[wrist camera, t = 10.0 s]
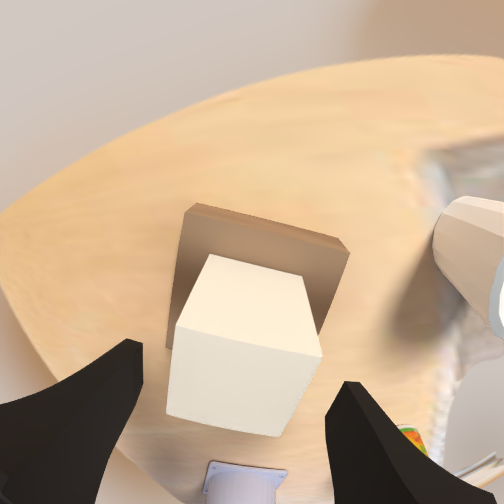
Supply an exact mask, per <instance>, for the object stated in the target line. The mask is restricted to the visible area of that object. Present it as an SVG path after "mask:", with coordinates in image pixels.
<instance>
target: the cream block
mask: <svg viewBox="0 0 504 504" xmlns="http://www.w3.org/2000/svg"><path fill="white" fill-rule="evenodd" d="M321 359H322V352H321V348H320V344H319V340H318V336H317V332H316V328H315V324H314V320H313V316H312V312H311V308H310V304H309V301H308V297H307V293H306V289H305V285H304V282H303V278H302V276H299V275H294V274H290V273H286V272H282V271H278V270H274V269H270V268H265V267H261V266H257V265H253V264H249V263H245V262H241V261H237V260H233V259H229V258H225V257H221V256H217V255H213V254H209V256H208V258H207V260H206V263H205V265H204V267H203V269H202V271H201V273H200V275H199V277H198V279H197V281H196V283H195V285H194V287H193V289H192V291H191V293H190V296H189V298H188V300H187V302H186V304H185V306H184V308H183V310H182V312H181V315H180V317H179V319H178V321H177V323H176V326H175V334H174V342H173V350H172V358H171V367H170V377H169V386H168V397H167V408H166V414H168V415H171V416H175V417H178V418H182V419H186V420H190V421H194V422H198V423H202V424H207V425H211V426H216V427H221V428H225V429H231V430H236V431H242V432H247V433H254V434H260V435H267V436H275V437H279V436H280V435H281V433H282V431H283V430H284V428H285V426H286V425H287V423H288V421H289V419H290V418H291V416H292V414H293V412H294V411H295V409H296V407H297V405H298V403H299V402H300V400H301V398H302V396H303V394H304V392H305V391H306V389H307V387H308V385H309V383H310V381H311V379H312V377H313V375H314V373H315V371H316V369H317V367H318V365H319V363H320V361H321Z"/></svg>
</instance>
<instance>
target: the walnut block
mask: <svg viewBox="0 0 504 504" xmlns="http://www.w3.org/2000/svg"><path fill="white" fill-rule="evenodd" d="M209 254H213V255H217V256H221V257H225V258H229V259H233V260H237V261H241V262H245V263H249V264H253V265H257V266H261V267H265V268H270V269H274V270H278V271H282V272H286V273H290V274H294V275H299V276H302V278H303V282H304V285H305V289H306V293H307V297H308V301H309V304H310V308H311V312H312V316H313V320H314V324H315V328H316V332H317V336H318V335H319V332H320V330H321V328H322V325H323V323H324V320H325V318H326V315H327V313H328V310H329V308H330V305H331V303H332V300H333V298H334V295H335V293H336V290H337V287H338V285H339V282H340V279H341V277H342V274H343V271H344V269H345V266H346V263H347V260H348V257H349V254H350V253H349V251H348V250H347V249H346V247H345V246H344V245H343V244H342V242H341V241H340V240H339V239H338V238H336V237H332V236H328V235H325V234H321V233H317V232H313V231H310V230H306V229H302V228H298V227H294V226H290V225H286V224H283V223H279V222H275V221H271V220H267V219H263V218H259V217H255V216H250V215H246V214H242V213H238V212H234V211H230V210H225V209H221V208H217V207H213V206H208V205H204V204H200V203H196V204H195V205H194V206H192V207H191V208H190V209H188V210H187V211H186V212H185V214H184V220H183V226H182V231H181V237H180V243H179V249H178V256H177V262H176V269H175V276H174V283H173V290H172V297H171V305H170V313H169V322H168V331H167V340H166V348H169V349H172V350H173V342H174V334H175V326H176V323H177V321H178V319H179V317H180V315H181V312H182V310H183V308H184V306H185V304H186V302H187V300H188V298H189V296H190V293H191V291H192V289H193V287H194V285H195V283H196V281H197V279H198V277H199V275H200V273H201V271H202V269H203V267H204V265H205V263H206V260H207V258H208V256H209Z"/></svg>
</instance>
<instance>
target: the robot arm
mask: <svg viewBox="0 0 504 504" xmlns="http://www.w3.org/2000/svg"><path fill="white" fill-rule="evenodd" d="M142 385H143V343H141V342H137V341H134V340H131V339H125V340H123V341H122V342H121V343H119V344H118V345H116V346H115V347H114V348H112V349H111V350H109V351H108V352H106V353H105V354H104V355H102V356H101V357H99V358H98V359H96V360H95V361H93V362H92V363H90V364H89V365H87V366H86V367H84V368H83V369H81V370H80V371H78V372H76V373H74V374H73V375H71V376H69V377H68V378H66V379H64V380H62V381H61V382H59V383H57V384H55V385H53V386H51V387H49V388H47V389H44V390H42V391H40V392H37V393H35V394H32V395H29V396H26V397H24V398H21V399H18V400H15V401H12V402H8V403H4V404H0V504H95V500H96V496H97V493H98V490H99V486H100V483H101V480H102V477H103V474H104V471H105V468H106V465H107V462H108V459H109V457H110V455H111V453H112V450H113V448H114V446H115V444H116V442H117V440H118V438H119V436H120V435H121V433H122V431H123V429H124V427H125V425H126V423H127V421H128V419H129V417H130V415H131V413H132V411H133V409H134V407H135V405H136V402H137V399H138V397H139V394H140V391H141V388H142ZM325 435H326V445H327V451H328V457H329V463H330V469H331V475H332V481H333V487H334V499H335V504H497V502H496V500H495V497H494V495H493V494H492V493H490V492H487V491H485V490H482V489H480V488H477V487H475V486H472V485H470V484H468V483H467V482H465V481H463V480H461V479H459V478H457V477H456V476H454V475H452V474H450V473H449V472H448V471H446V470H445V469H443V468H442V467H440V466H439V465H438V464H436V463H435V462H434V461H432V460H431V459H430V458H429V457H427V456H426V455H425V454H424V453H423V452H422V451H420V450H419V449H418V448H417V447H416V446H415V445H414V444H413V443H412V442H411V441H410V440H409V439H408V438H407V437H406V436H405V435H404V434H403V433H402V432H401V431H400V430H399V429H398V427H397V426H396V425H395V424H394V423H393V422H392V421H391V419H390V418H389V417H388V416H387V415H386V413H385V412H384V411H383V410H382V409H381V407H380V406H379V405H378V404H377V403H376V401H375V400H374V399H373V398H372V396H371V395H370V394H369V393H368V391H367V390H366V389H365V388H364V387H363V386H362V384H361V383H360V382H350V381H344V383H343V385H342V387H341V389H340V391H339V393H338V394H337V396H336V398H335V400H334V402H333V403H332V405H331V407H330V409H329V410H328V412H327V414H326V416H325ZM287 474H288V473H287V471H286V470H275V469H264V468H255V467H247V466H240V465H233V464H227V463H221V462H215V461H212V462H210V463H209V468H208V472H207V476H206V480H205V484H204V488H203V492H202V493H203V494H205V495H207V499H206V504H276V490H277V488H278V487H279V486H280V484H281V483H282V482H283V480H284V479H285V477H286V476H287Z"/></svg>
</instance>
